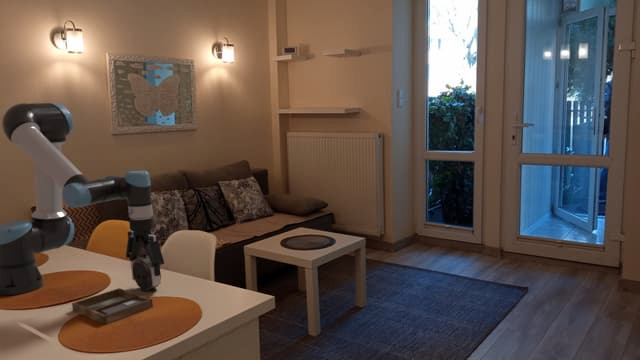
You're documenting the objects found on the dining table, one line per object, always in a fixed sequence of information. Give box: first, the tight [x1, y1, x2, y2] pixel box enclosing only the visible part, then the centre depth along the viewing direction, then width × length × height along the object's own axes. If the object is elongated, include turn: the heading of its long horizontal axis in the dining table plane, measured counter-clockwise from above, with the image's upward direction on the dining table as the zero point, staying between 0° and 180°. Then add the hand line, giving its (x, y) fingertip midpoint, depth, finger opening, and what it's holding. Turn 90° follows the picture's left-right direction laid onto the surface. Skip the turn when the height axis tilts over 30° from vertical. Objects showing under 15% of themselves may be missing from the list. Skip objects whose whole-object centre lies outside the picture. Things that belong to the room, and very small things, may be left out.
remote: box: [101, 299, 141, 315], centre depth 154 cm, size 4×11×2 cm, turn 142°
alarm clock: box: [133, 246, 162, 292], centre depth 173 cm, size 11×5×16 cm, turn 49°
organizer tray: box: [71, 287, 154, 325], centre depth 157 cm, size 18×16×3 cm
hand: (146, 281), depth 173 cm, fingers closed on alarm clock, 11 cm apart
